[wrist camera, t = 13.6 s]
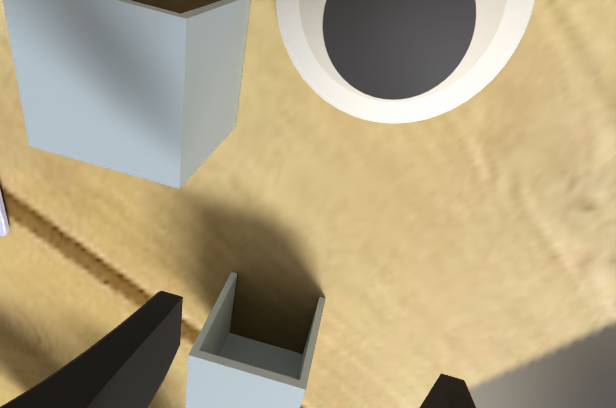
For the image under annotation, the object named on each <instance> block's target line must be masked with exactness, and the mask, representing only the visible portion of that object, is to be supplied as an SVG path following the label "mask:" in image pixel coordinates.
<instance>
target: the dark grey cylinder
mask: <svg viewBox="0 0 616 408" xmlns="http://www.w3.org/2000/svg"><path fill="white" fill-rule="evenodd" d="M475 23H476V1H475V0H326V3H325V7H324V13H323V26H322V28H323V38H324V43H325V48H326V51H327V53H328V56H329V58H330V60H331V62H332V64H333V66H334V68H335V69H336V71H337V72H338V73H339V74H340V76H341V77H342V78H343V79H344V80H345V81H346V82H347V83H348V84H349V85H351V86H352V87H354V88H355V89H357V90H358V91H360V92H362V93H364V94H366V95H369V96H372V97H375V98H380V99H387V100H400V99H407V98H411V97H415V96H418V95H421V94H423V93H425V92H428V91H430V90H431V89H433V88H435V87H436V86H438V85H439V84H440V83H442V82H443V81H444V80H446V79H447V78H448V77H449V76H450V75H451V74H452V73H453V72H454V70H455V69H456V68H457V67H458V65H459V64H460V62H461V61H462V59H463V58H464V56H465V54H466V52H467V50H468V48H469V46H470V43H471V40H472V37H473V34H474V29H475Z"/></svg>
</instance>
